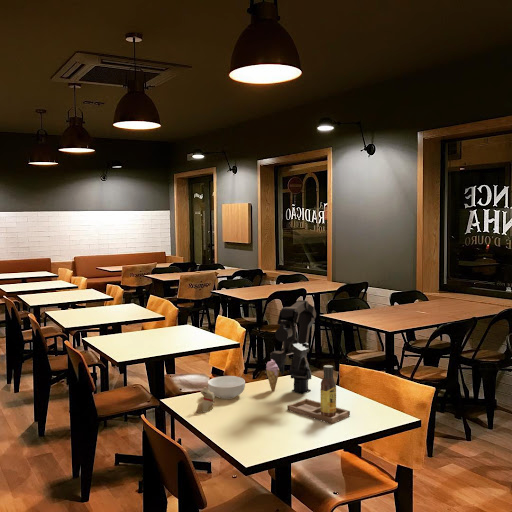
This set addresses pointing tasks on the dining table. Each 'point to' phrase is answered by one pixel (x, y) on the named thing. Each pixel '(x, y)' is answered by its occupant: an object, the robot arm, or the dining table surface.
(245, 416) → the dining table surface
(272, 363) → the ice cream cone
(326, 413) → the sauce bottle
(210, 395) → the chocolate bunny
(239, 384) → the cereal bowl
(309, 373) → the robot arm
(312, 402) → the walnut holder
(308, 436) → the dining table surface
